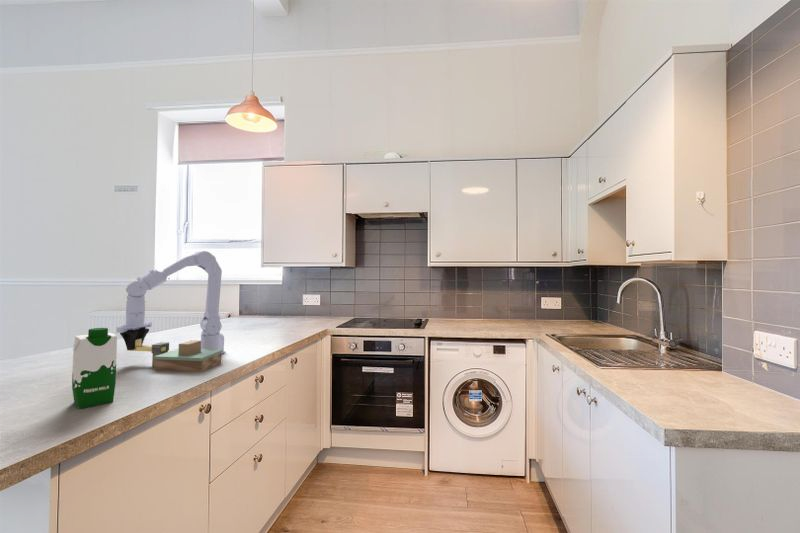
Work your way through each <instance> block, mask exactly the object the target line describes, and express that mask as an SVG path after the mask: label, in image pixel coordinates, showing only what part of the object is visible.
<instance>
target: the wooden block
mask: <svg viewBox="0 0 800 533" xmlns="http://www.w3.org/2000/svg"><path fill="white" fill-rule="evenodd" d="M141 344H142V339H136V340H135V347H134V350H127V349H126V351H127V352H130V351H131V352H152V345H143V344H142V346H141ZM162 351H166V346H164V347H161V352H162Z"/></svg>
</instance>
